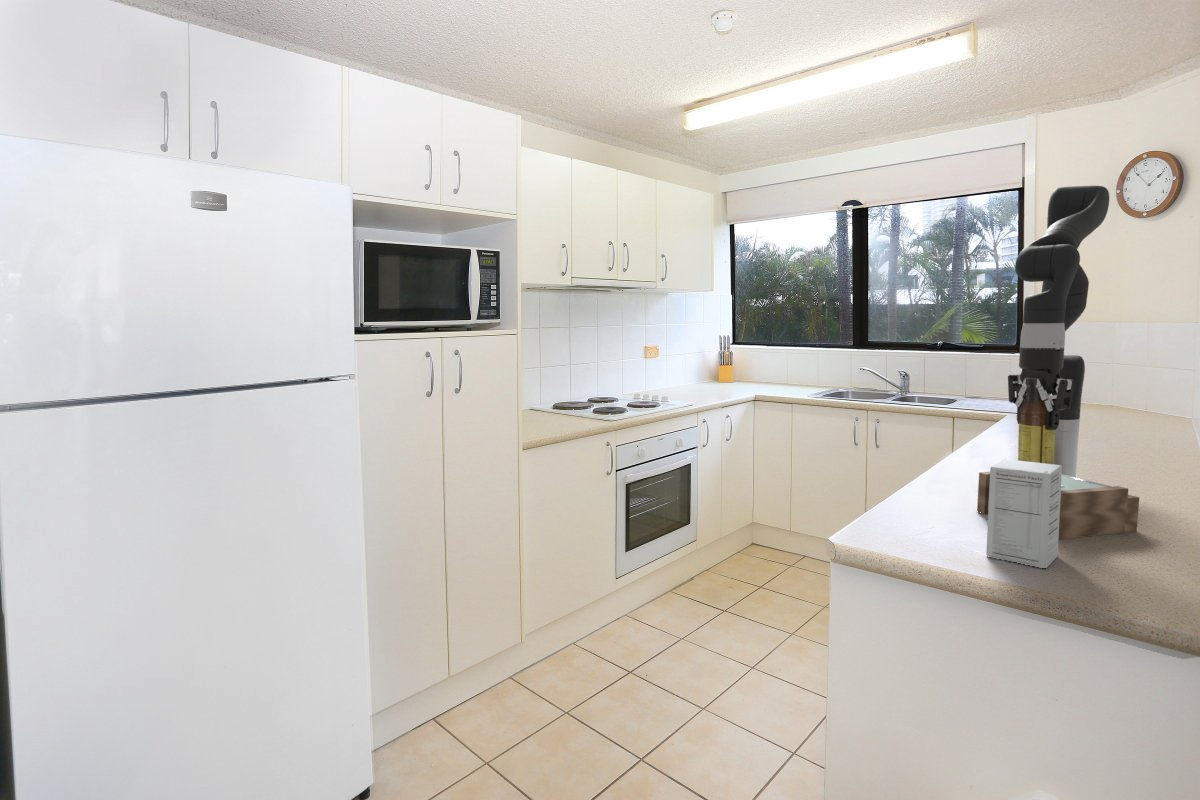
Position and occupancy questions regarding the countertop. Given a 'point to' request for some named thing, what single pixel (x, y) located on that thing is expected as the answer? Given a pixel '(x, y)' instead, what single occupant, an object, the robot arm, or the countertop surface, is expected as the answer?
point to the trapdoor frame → (1084, 509)
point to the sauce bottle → (1034, 428)
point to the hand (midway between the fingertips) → (1036, 426)
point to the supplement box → (1024, 512)
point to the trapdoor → (1078, 483)
